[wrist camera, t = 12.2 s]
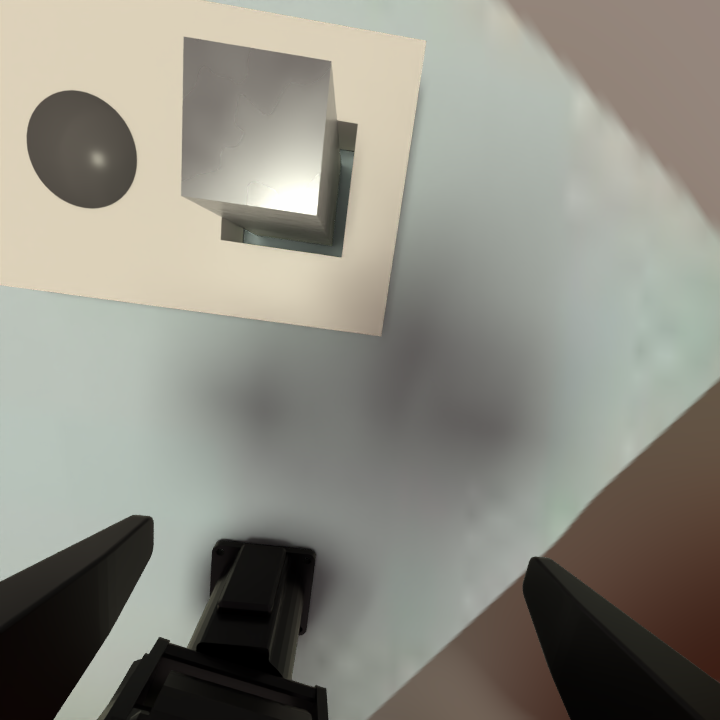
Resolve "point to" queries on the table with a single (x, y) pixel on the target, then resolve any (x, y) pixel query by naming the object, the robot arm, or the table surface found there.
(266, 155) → the square peg
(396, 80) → the socket plate
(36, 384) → the table surface
